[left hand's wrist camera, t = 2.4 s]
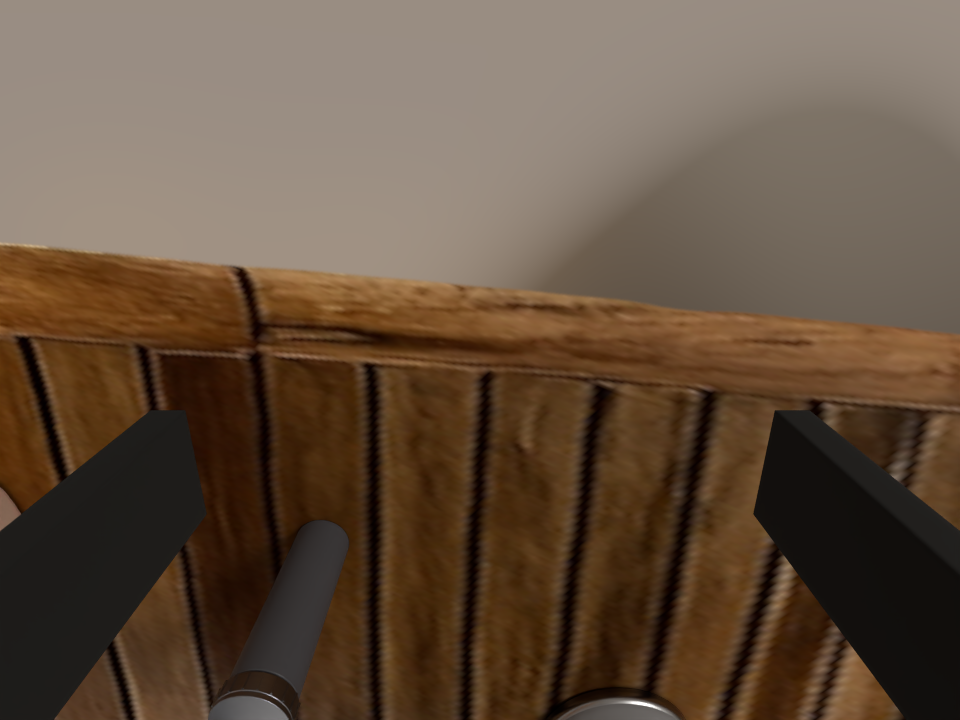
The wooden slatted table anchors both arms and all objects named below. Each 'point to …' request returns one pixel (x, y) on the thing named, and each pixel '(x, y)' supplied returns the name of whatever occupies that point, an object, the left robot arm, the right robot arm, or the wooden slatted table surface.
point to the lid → (255, 698)
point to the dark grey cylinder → (296, 605)
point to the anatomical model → (7, 510)
